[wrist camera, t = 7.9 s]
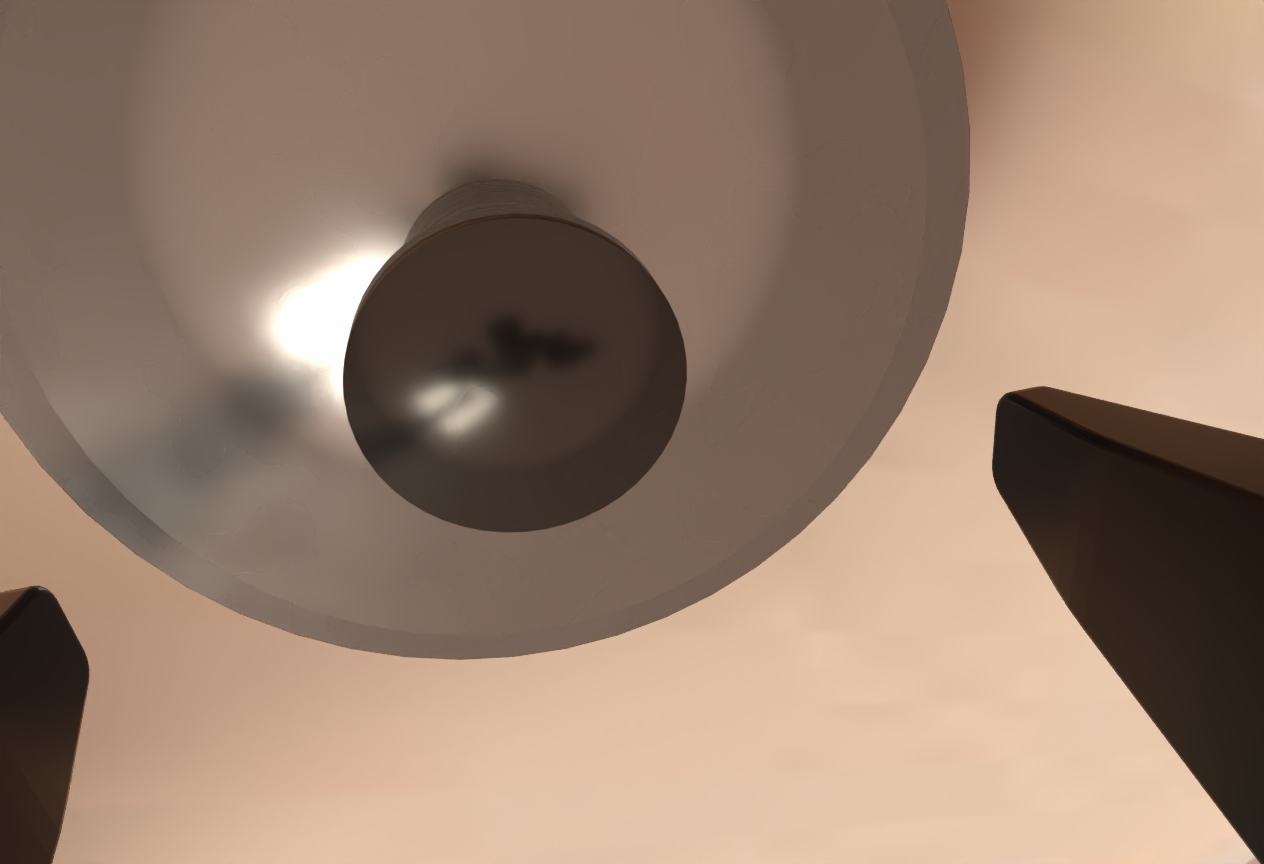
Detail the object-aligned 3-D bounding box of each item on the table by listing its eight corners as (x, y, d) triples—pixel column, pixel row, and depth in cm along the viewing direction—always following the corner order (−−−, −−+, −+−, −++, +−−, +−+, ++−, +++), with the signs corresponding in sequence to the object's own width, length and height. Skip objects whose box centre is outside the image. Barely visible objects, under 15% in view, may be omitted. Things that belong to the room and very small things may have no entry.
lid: (925, 548, 21) (1071, 733, 16) (161, 704, 19) (72, 962, 14) (981, -411, 13) (1297, -604, 8) (-310, -302, 11) (-857, -470, 6)
